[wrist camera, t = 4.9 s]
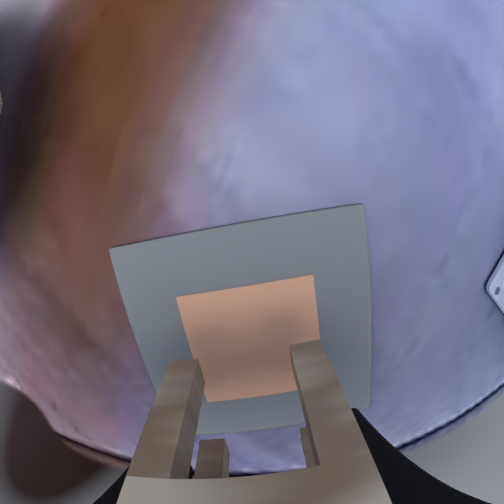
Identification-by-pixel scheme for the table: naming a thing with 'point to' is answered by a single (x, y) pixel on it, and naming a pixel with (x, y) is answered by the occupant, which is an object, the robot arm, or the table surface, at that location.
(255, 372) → the mat
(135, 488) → the stool
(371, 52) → the table surface
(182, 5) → the table surface
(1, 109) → the bowl
